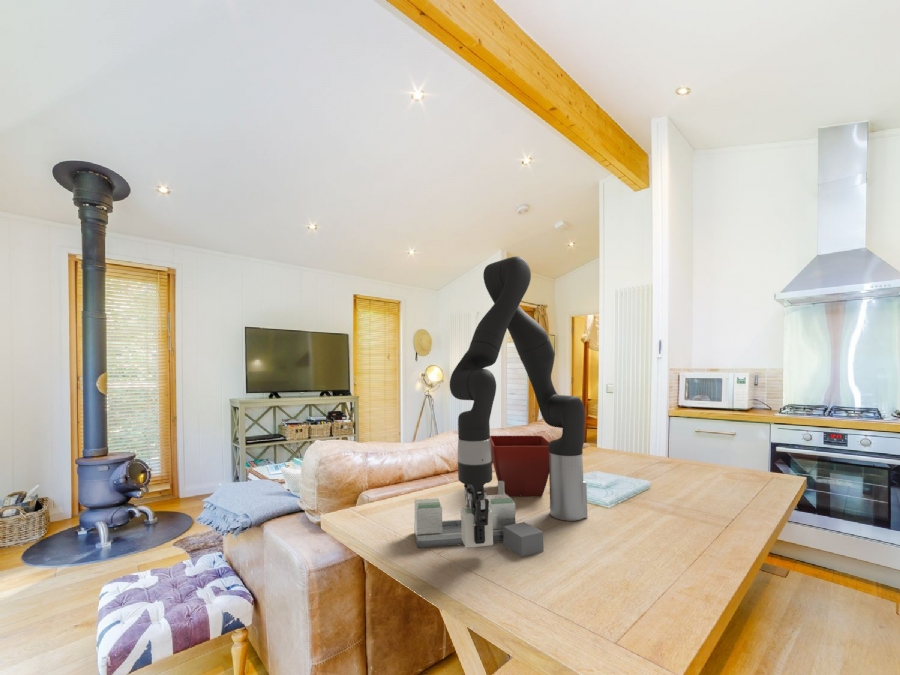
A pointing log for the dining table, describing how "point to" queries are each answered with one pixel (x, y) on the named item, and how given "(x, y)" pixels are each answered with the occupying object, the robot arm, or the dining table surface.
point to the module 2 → (523, 539)
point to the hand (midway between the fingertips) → (476, 537)
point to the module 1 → (468, 528)
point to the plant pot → (521, 464)
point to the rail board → (457, 521)
